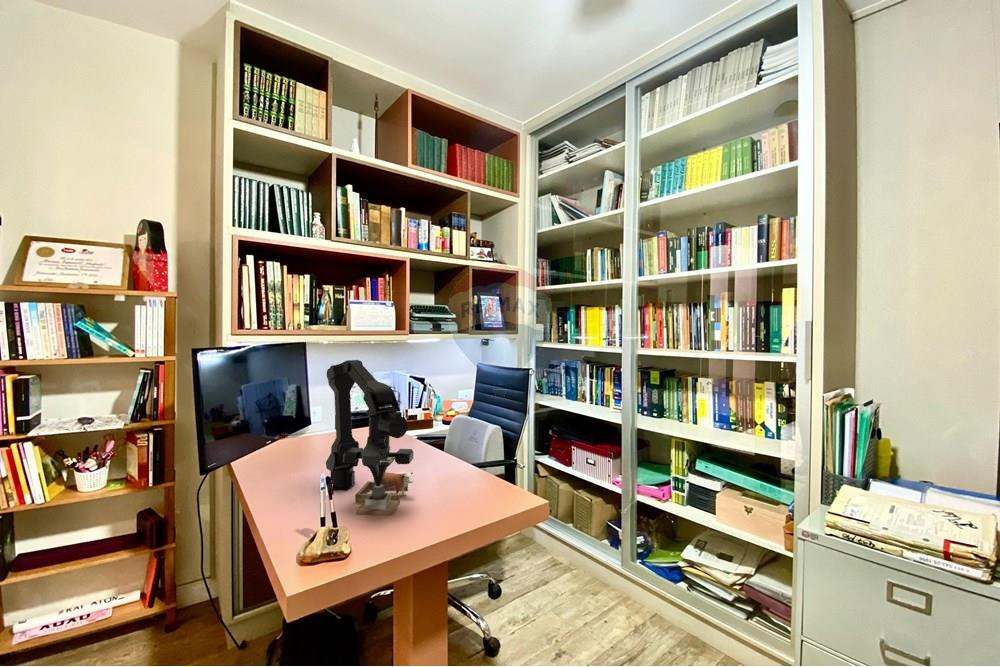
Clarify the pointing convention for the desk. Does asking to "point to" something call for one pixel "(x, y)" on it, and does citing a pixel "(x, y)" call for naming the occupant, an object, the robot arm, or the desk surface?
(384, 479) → the bull figurine
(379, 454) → the robot arm
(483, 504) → the desk surface
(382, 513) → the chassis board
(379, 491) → the cylinder
